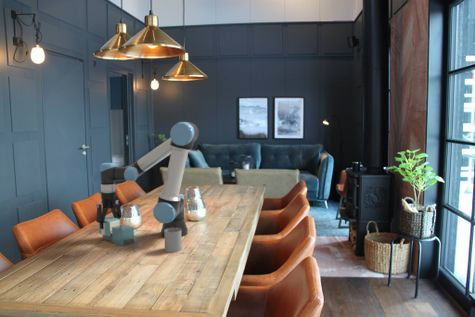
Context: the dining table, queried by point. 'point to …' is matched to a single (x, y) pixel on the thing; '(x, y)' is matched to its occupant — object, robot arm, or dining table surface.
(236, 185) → the dining table surface
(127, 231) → the teal stepped block
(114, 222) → the block
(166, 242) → the cup
